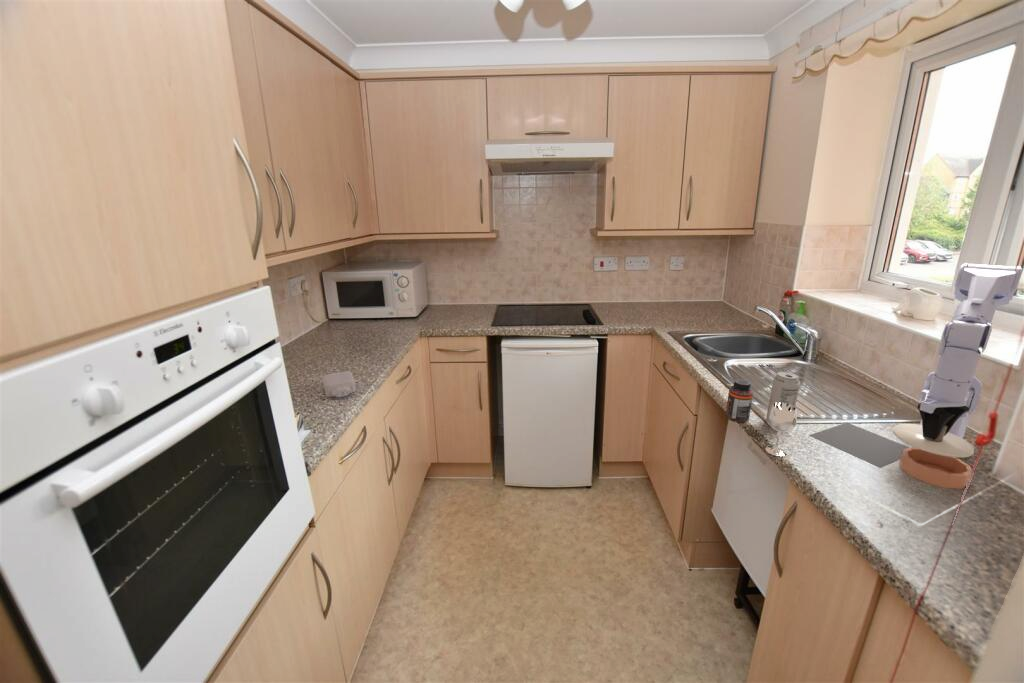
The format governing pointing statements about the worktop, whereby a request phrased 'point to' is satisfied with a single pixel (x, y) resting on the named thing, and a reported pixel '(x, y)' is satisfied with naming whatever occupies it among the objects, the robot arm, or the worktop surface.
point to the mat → (862, 444)
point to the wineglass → (781, 423)
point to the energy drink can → (784, 390)
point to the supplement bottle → (739, 401)
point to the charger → (339, 384)
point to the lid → (934, 441)
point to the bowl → (935, 468)
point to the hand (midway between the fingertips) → (934, 435)
